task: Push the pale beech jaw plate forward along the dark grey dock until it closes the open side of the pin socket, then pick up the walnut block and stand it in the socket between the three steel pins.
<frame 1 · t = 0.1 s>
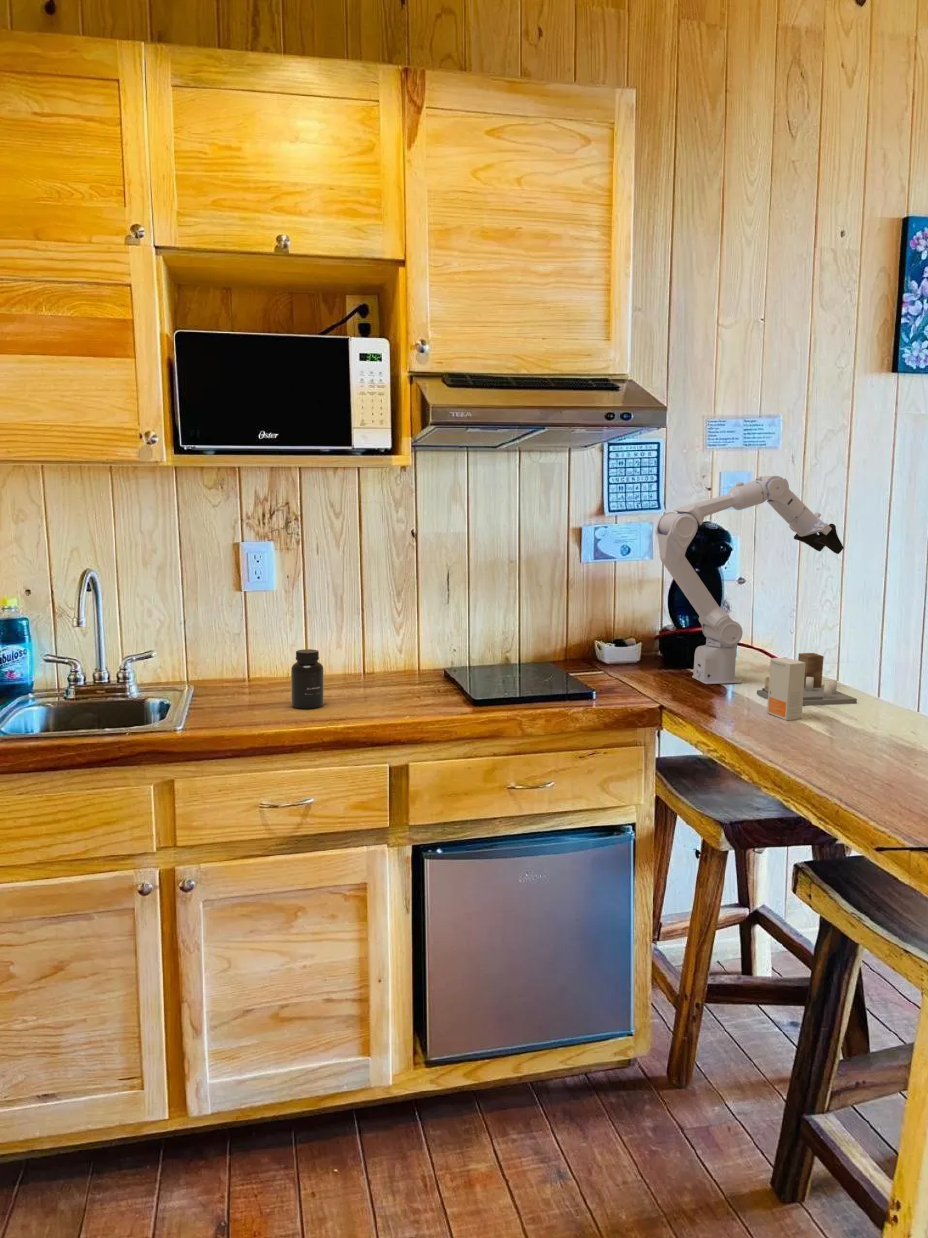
hand: (831, 549, 213), 32 cm above the kitchen counter, tool tilted 50°, fingers open, 7 cm apart
dock: (805, 698, 196), on the kitchen counter
supplement bottle: (307, 706, 187), on the kitchen counter
jaw plate: (776, 687, 194), point 3 cm above the kitchen counter, slide at 0.0 cm
walnut block: (808, 687, 207), on the kitchen counter
skincare box: (784, 717, 181), on the kitchen counter
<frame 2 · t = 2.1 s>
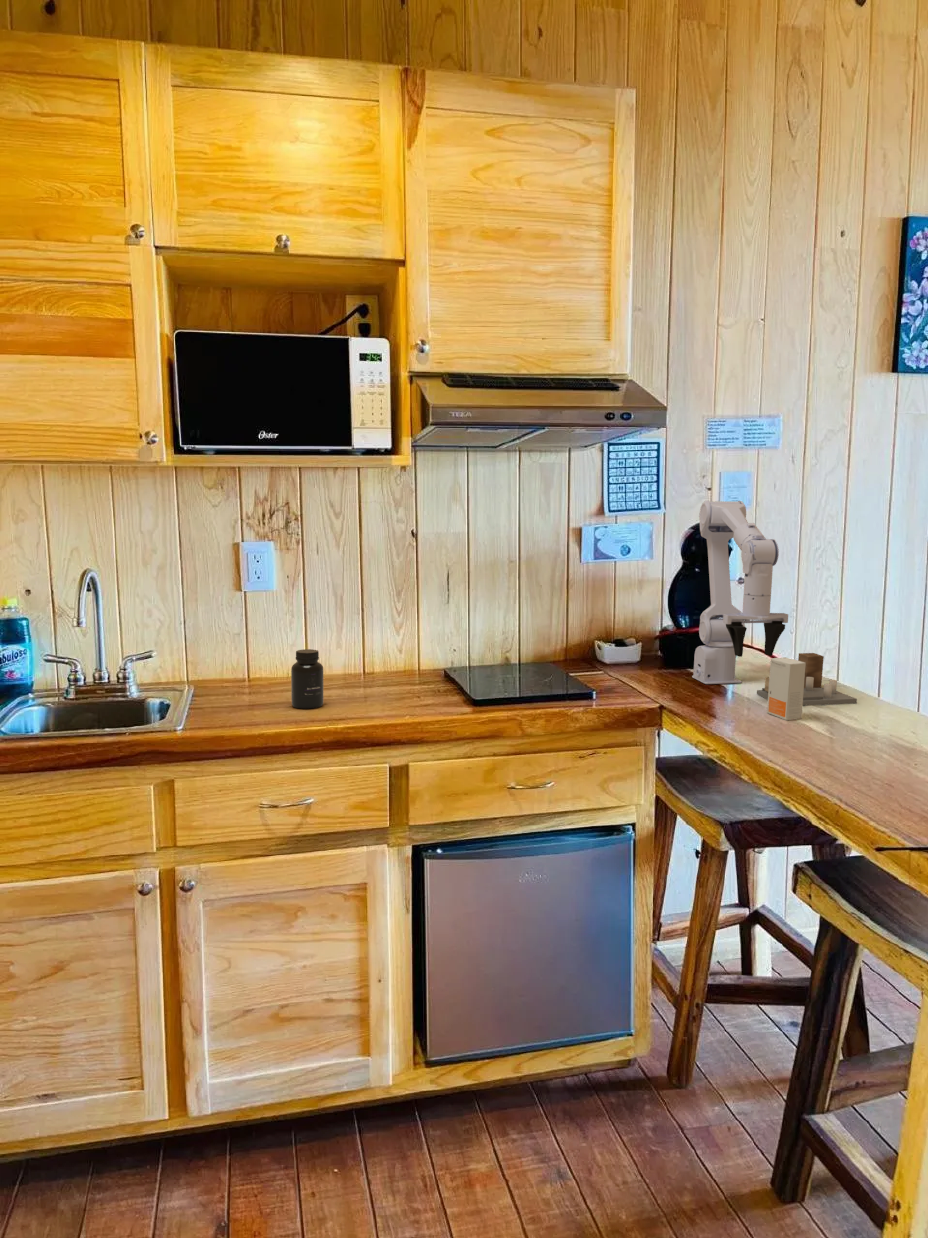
hand: (753, 655, 192), 10 cm above the kitchen counter, tool pointing down, fingers open, 7 cm apart
nothing on the kitchen counter moved.
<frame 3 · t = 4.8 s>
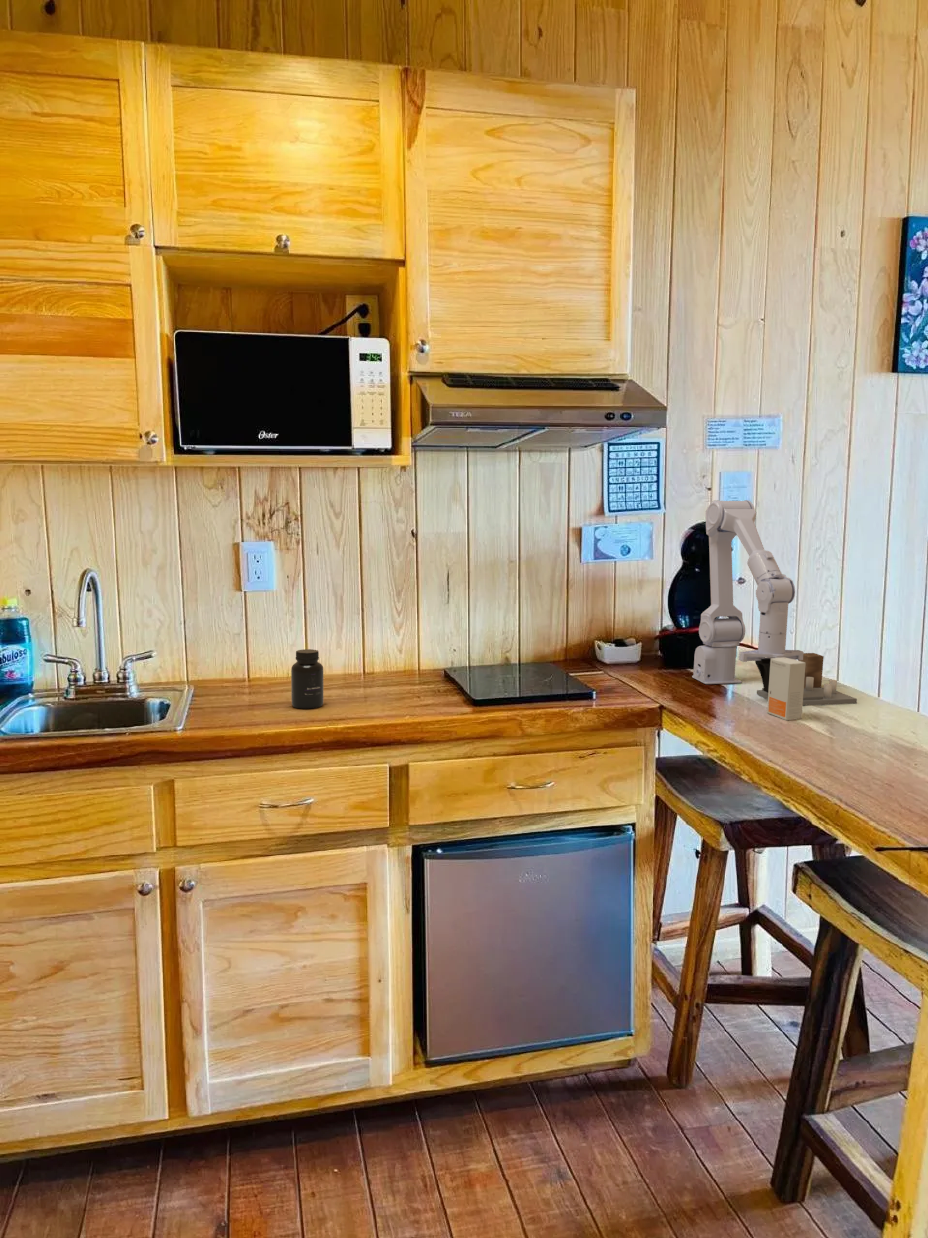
hand: (768, 692, 194), 2 cm above the kitchen counter, tool pointing down, fingers closed
jaw plate: (776, 687, 194), point 3 cm above the kitchen counter, slide at 0.1 cm, touching gripper
everything else where it was.
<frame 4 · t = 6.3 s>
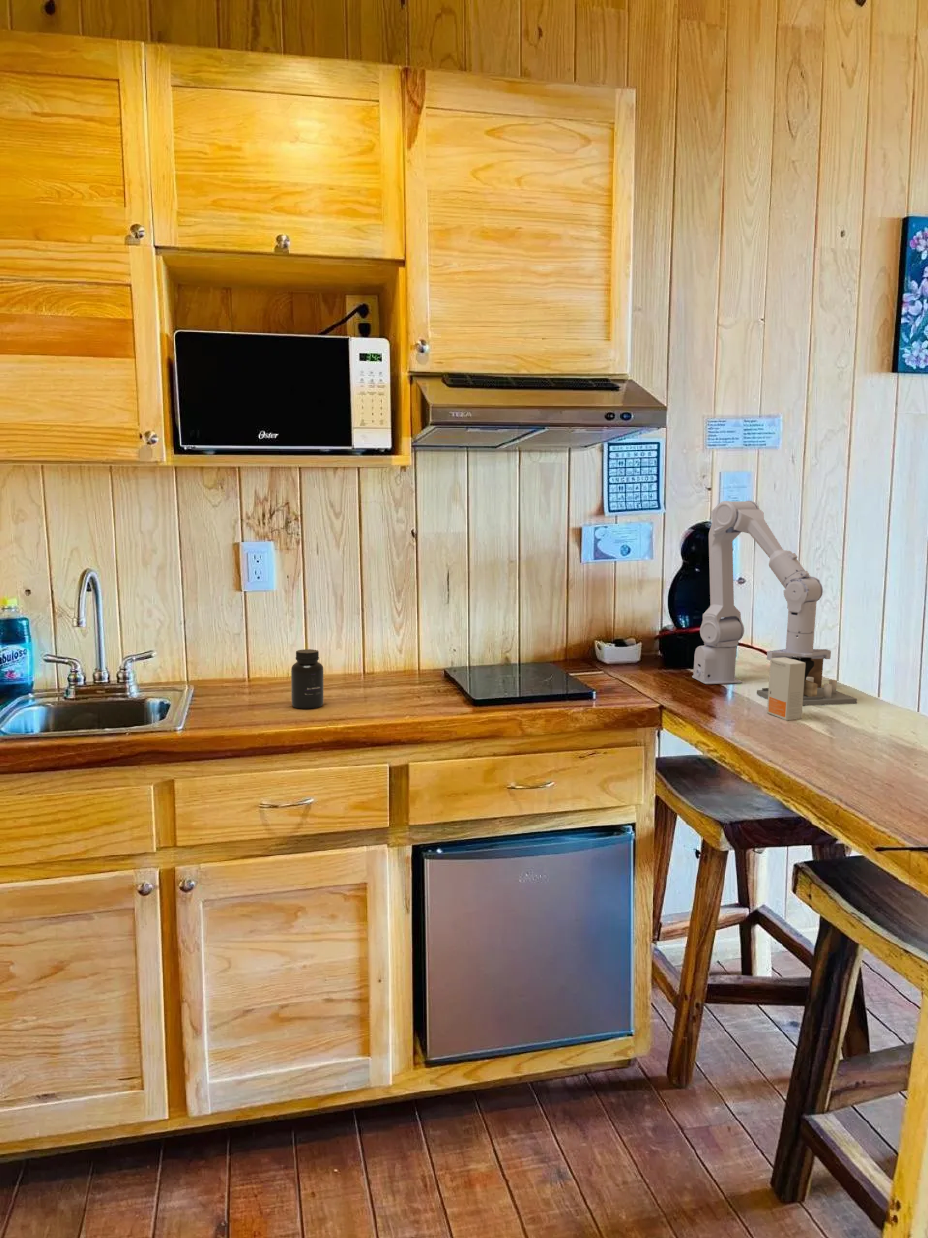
hand: (796, 690, 195), 2 cm above the kitchen counter, tool pointing down, fingers closed
jaw plate: (804, 686, 195), point 3 cm above the kitchen counter, slide at 6.8 cm, touching gripper
everything else where it was.
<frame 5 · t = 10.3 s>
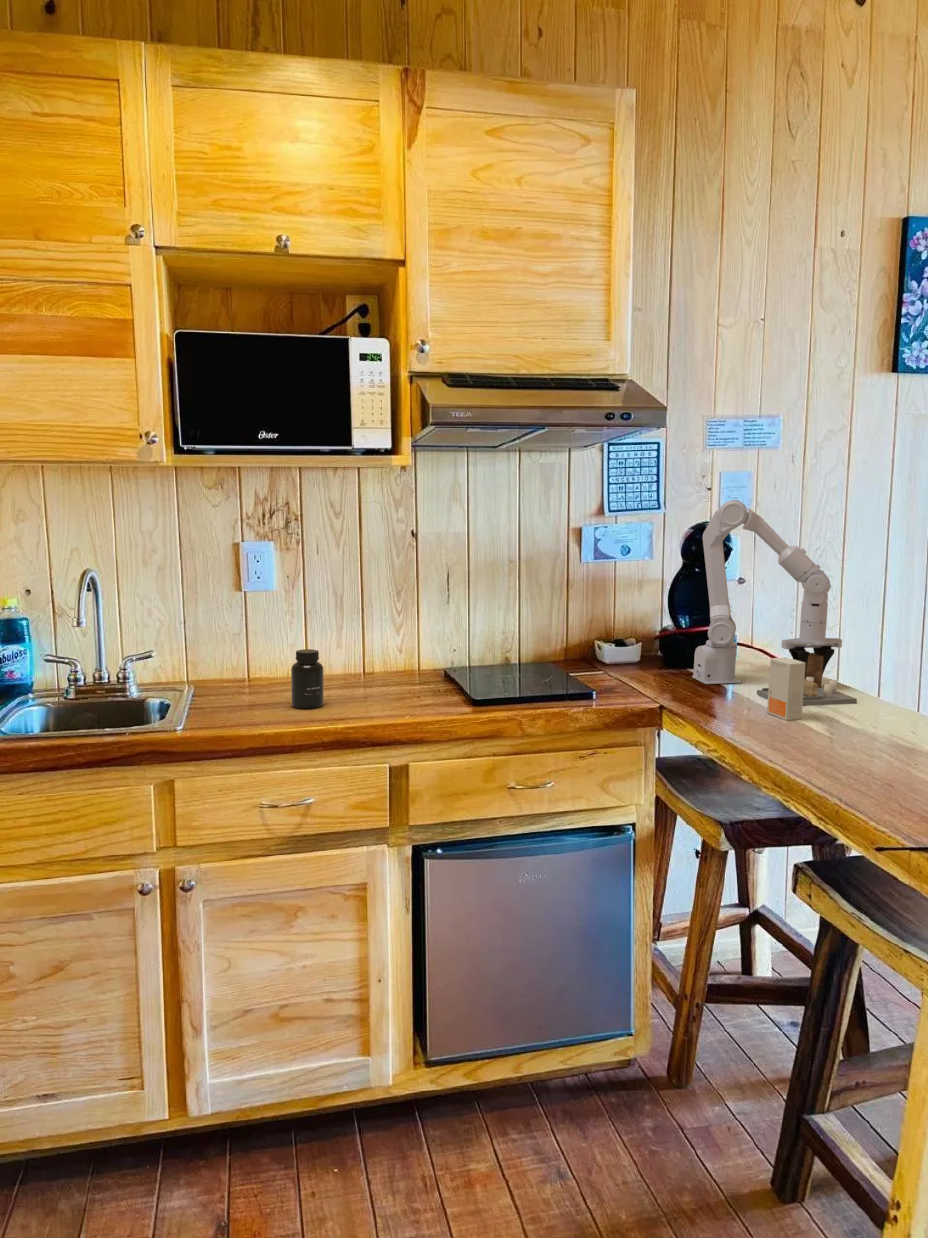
hand: (809, 677, 207), 2 cm above the kitchen counter, tool pointing down, fingers closed on walnut block, 4 cm apart
jaw plate: (804, 686, 195), point 3 cm above the kitchen counter, slide at 6.9 cm
walnut block: (808, 687, 207), on the kitchen counter, touching gripper
everything else where it was.
when the fingers open (5 cm above the kitchen counter, at t = 13.5 s): walnut block stays where it is, resting on dock.
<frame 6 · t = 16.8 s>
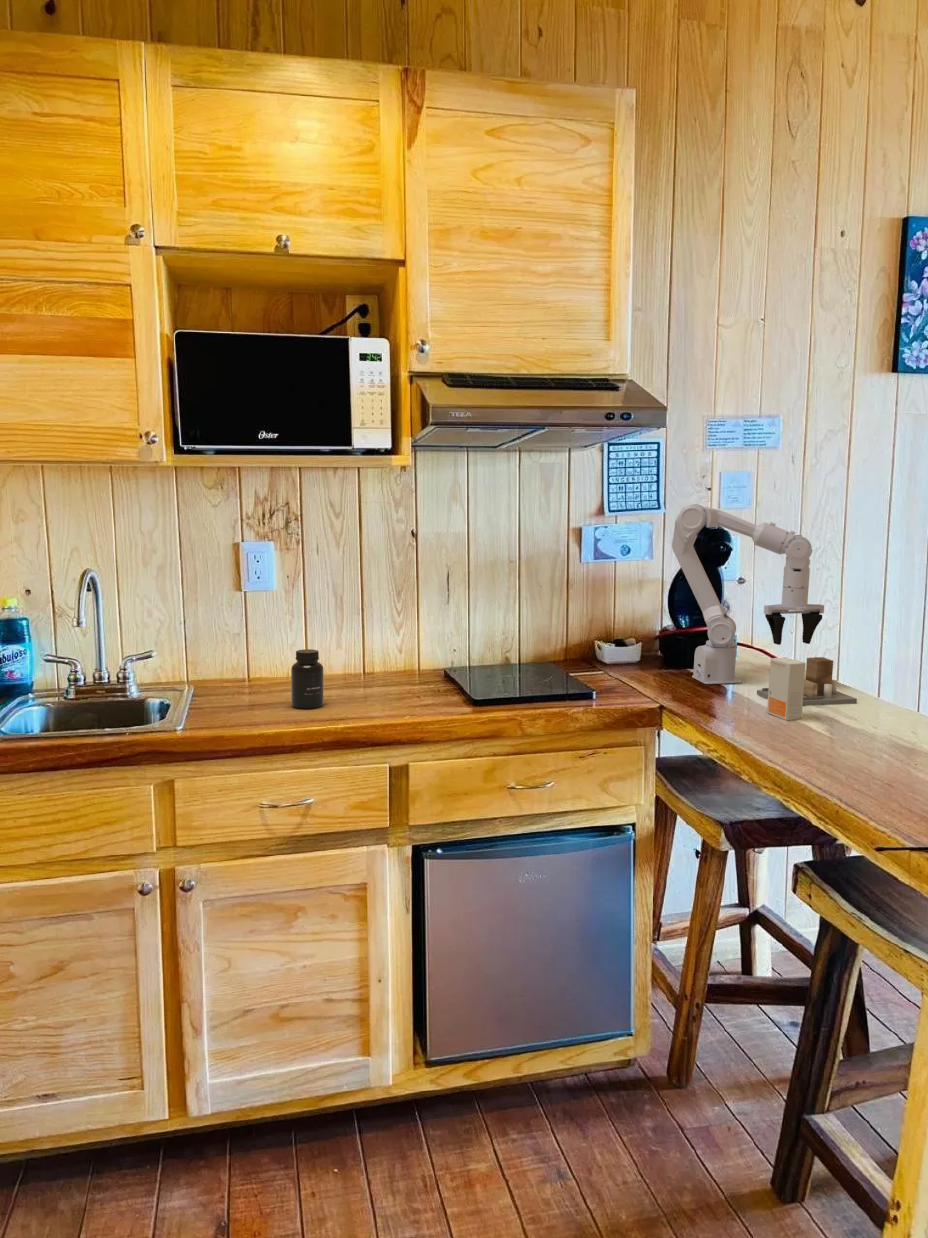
hand: (791, 643, 206), 10 cm above the kitchen counter, tool pointing down, fingers open, 7 cm apart
walnut block: (817, 693, 196), point 1 cm above the kitchen counter, touching dock
everything else where it was.
at the end: jaw plate slide at 6.9 cm; walnut block 0.2 cm from the target spot on the dock, point 1.0 cm above the dock's base; walnut block tilted 0° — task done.
